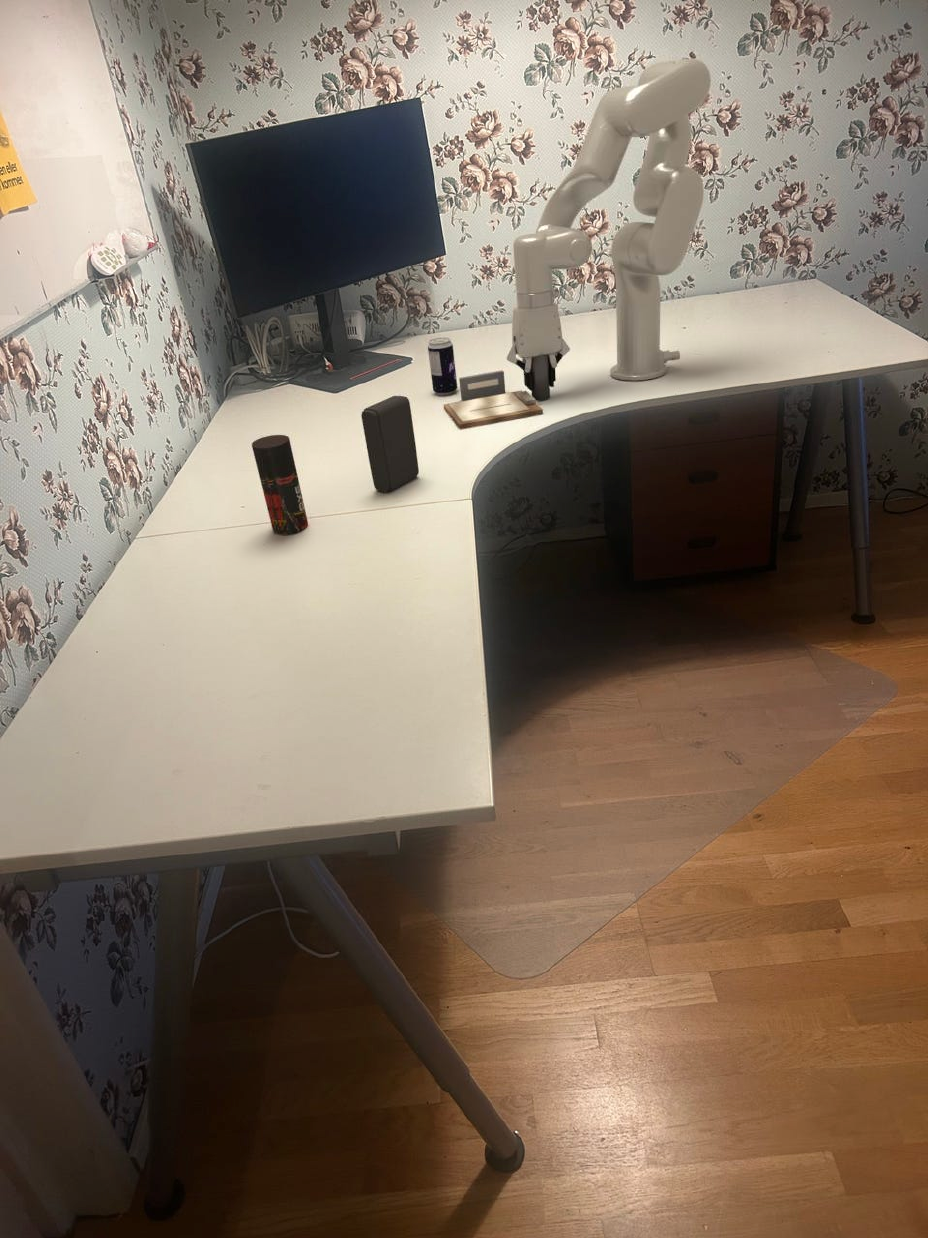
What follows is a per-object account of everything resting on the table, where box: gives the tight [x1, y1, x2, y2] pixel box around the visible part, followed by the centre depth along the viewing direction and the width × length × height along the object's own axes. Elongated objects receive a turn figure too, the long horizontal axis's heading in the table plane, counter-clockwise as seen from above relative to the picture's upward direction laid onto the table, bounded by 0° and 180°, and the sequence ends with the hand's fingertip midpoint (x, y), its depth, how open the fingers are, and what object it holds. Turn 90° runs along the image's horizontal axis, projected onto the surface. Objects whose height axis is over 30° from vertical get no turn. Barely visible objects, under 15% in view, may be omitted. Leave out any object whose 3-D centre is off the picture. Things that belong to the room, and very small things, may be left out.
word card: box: [458, 370, 506, 401], centre depth 190 cm, size 10×1×5 cm, turn 103°
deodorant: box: [251, 434, 309, 536], centre depth 138 cm, size 6×6×15 cm
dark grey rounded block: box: [360, 395, 420, 493], centre depth 149 cm, size 9×4×15 cm, turn 141°
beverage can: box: [427, 337, 458, 397], centre depth 194 cm, size 6×6×12 cm
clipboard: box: [442, 390, 544, 430], centre depth 182 cm, size 18×15×2 cm
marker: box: [530, 353, 551, 402], centre depth 183 cm, size 4×4×12 cm
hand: (540, 386), depth 185 cm, fingers closed on marker, 4 cm apart
